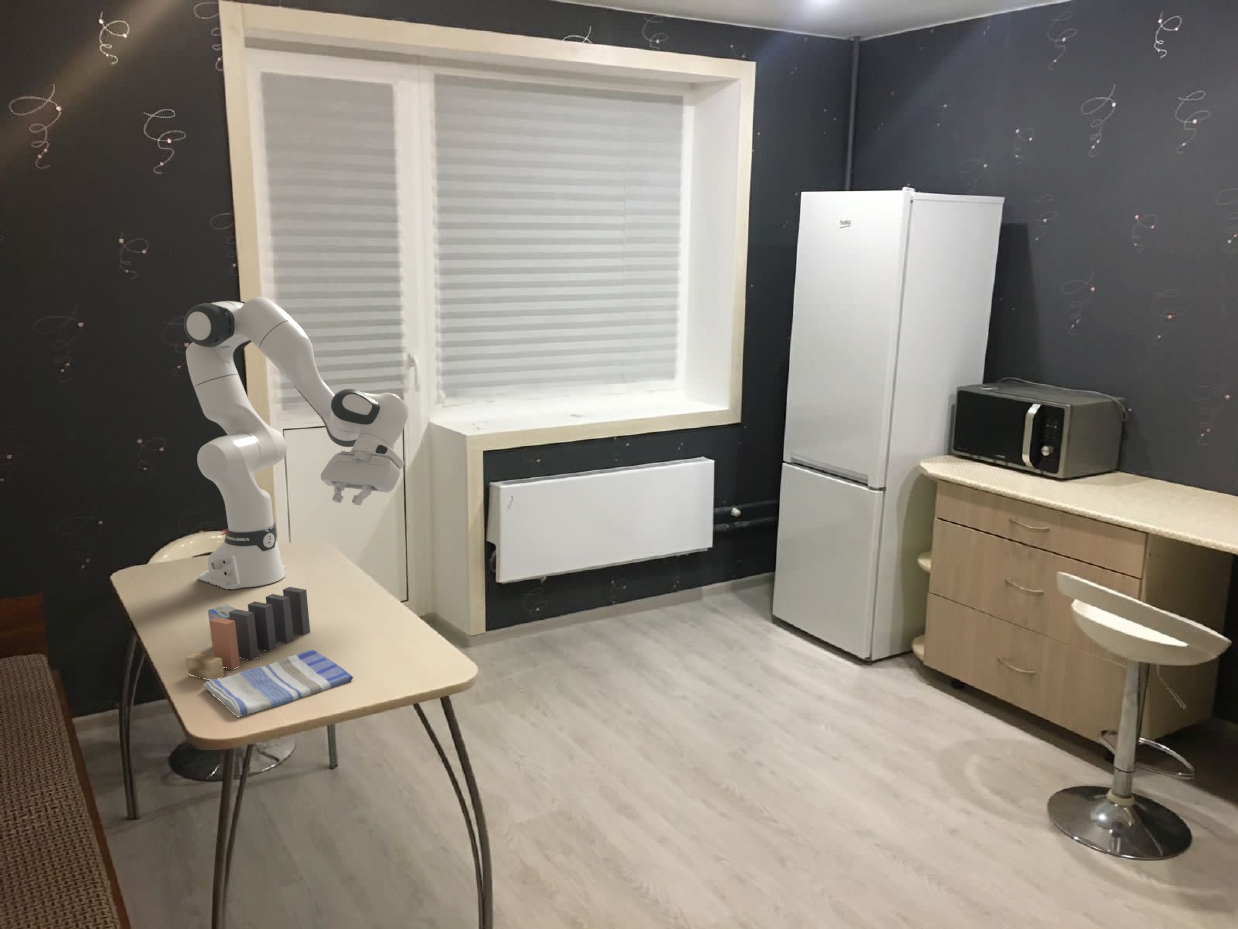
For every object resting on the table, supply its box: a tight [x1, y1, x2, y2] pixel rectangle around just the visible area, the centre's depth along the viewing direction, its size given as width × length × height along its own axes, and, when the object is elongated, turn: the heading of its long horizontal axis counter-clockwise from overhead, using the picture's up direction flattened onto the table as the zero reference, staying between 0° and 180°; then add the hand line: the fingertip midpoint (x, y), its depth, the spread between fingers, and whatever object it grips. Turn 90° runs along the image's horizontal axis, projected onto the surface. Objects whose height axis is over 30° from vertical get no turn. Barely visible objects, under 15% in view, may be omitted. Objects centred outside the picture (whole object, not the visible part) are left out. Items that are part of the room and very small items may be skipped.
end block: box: [186, 652, 225, 679], centre depth 193 cm, size 7×2×4 cm, turn 64°
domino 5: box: [282, 586, 311, 636], centre depth 215 cm, size 5×2×10 cm, turn 64°
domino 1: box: [209, 617, 241, 670], centre depth 197 cm, size 5×2×10 cm, turn 64°
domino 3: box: [247, 601, 277, 653], centre depth 206 cm, size 5×2×10 cm, turn 64°
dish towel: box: [202, 649, 354, 717], centre depth 189 cm, size 17×24×3 cm
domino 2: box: [229, 608, 260, 662], centre depth 202 cm, size 5×2×10 cm, turn 64°
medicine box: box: [207, 604, 237, 640], centre depth 207 cm, size 8×4×9 cm, turn 47°
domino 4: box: [265, 593, 295, 644], centre depth 210 cm, size 5×2×10 cm, turn 64°
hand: (345, 502), depth 226 cm, fingers open, 5 cm apart
